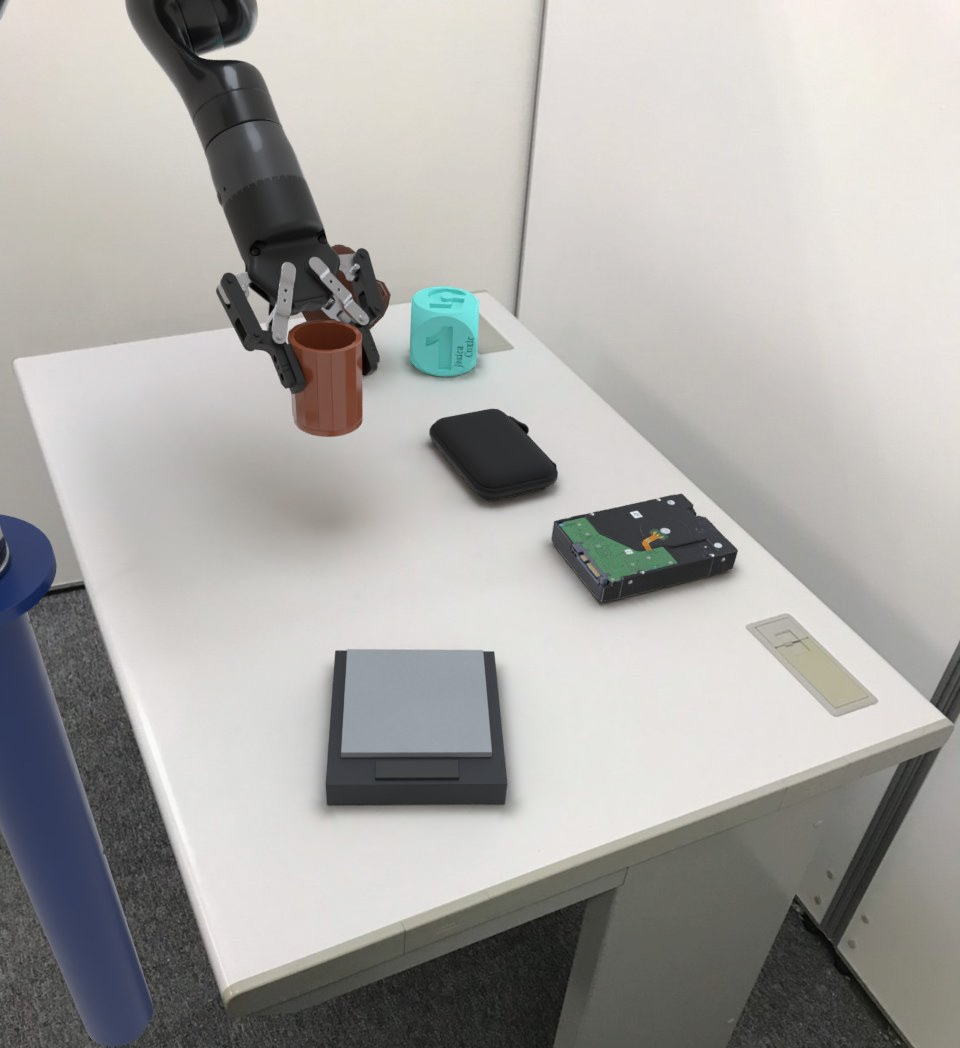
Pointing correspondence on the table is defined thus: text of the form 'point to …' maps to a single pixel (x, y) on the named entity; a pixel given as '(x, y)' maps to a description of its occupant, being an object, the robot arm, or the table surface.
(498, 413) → the carrying case
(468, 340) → the decorative dice
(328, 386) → the cup
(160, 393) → the table surface
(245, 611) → the table surface
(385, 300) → the ice cream bowl
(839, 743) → the table surface
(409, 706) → the scale
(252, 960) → the table surface
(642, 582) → the disk drive
